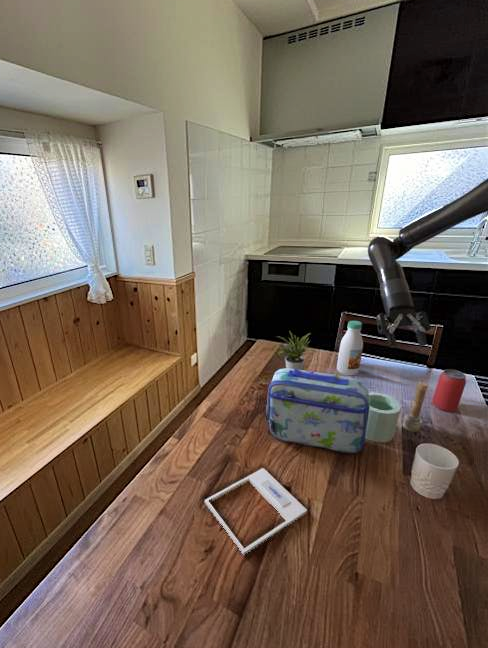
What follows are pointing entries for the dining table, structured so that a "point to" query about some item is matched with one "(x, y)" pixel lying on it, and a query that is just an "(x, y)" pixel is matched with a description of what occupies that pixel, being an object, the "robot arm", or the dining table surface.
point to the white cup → (432, 470)
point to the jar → (382, 417)
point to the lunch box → (318, 410)
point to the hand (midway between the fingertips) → (408, 346)
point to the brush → (416, 409)
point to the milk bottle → (350, 350)
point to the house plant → (294, 352)
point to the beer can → (449, 390)
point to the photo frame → (273, 494)
